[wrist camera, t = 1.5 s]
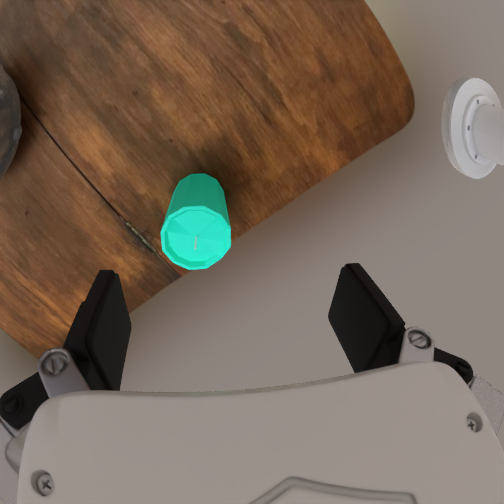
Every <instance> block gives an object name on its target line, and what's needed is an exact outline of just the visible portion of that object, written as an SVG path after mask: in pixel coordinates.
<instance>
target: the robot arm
mask: <svg viewBox="0 0 504 504" xmlns="http://www.w3.org/2000/svg"><path fill="white" fill-rule="evenodd" d="M462 136H463V142H464V146H465V149H466V152H467V154H468V155H469V157H470V158H471V159H472V160H473V161H474V162H475V163H478V164H480V165H486V164H488V163H490V162H491V161H494V162H496V163H498V164H500V165H503V166H504V109H502V108H499V107H496V105H495V103H494V102H493V101H492V100H491V99H490V98H489V97H487V96H484V95H476V96H473V97H472V98H471V99H470V100H469V102H468V103H467V106H466V108H465V111H464V114H463V121H462ZM328 318H329V321H330V324H331V325H332V328H333V330H334V332H335V333H336V336H337V338H338V340H339V342H340V344H341V346H342V348H343V350H344V352H345V354H346V356H347V358H348V360H349V362H350V364H351V366H352V368H353V370H354V372H355V373H354V374H349V375H345V376H339V377H335V378H329V379H324V380H317V381H311V382H305V383H298V384H292V385H283V386H275V387H266V388H257V389H245V390H234V391H233V390H232V391H214V392H131V391H120V385H121V379H122V373H123V367H124V362H125V357H126V351H127V347H128V342H129V337H130V333H131V321H130V317H129V314H128V310H127V306H126V303H125V299H124V295H123V291H122V287H121V282H120V278H119V275H118V274H117V273H115V272H114V271H113V270H100V271H99V272H98V274H97V277H96V279H95V281H94V283H93V285H92V287H91V289H90V291H89V293H88V295H87V298H86V300H85V301H84V302H82V304H81V305H80V307H79V310H78V312H77V314H76V316H75V319H74V321H73V323H72V326H71V328H70V331H69V333H68V336H67V338H66V341H65V343H64V346H63V348H60V347H55V348H51V349H48V350H47V351H45V352H44V353H43V354H42V355H41V356H40V358H39V360H38V365H37V367H38V372H37V373H35V374H34V375H32V376H31V377H29V378H27V379H26V380H24V381H22V382H21V383H19V384H18V385H16V386H14V387H13V388H11V389H9V390H8V391H6V392H5V393H4V394H3V395H2V396H1V398H0V498H1V499H2V501H3V502H4V503H5V504H504V452H503V449H502V447H501V445H500V442H499V440H498V438H497V433H498V431H499V428H500V425H501V422H502V419H503V416H504V395H503V394H502V393H501V392H500V391H499V390H497V389H496V388H494V387H493V386H492V385H490V384H489V383H488V382H486V381H485V380H484V379H482V378H481V377H479V376H478V375H475V377H474V376H473V370H472V368H471V366H470V364H469V363H468V362H467V361H465V360H463V359H462V358H459V357H457V356H454V355H452V354H449V353H447V352H445V351H442V350H440V349H437V348H435V347H434V339H433V337H432V336H431V334H430V333H429V332H427V331H426V330H424V329H422V328H419V327H410V328H408V329H407V330H406V329H405V327H404V325H405V322H404V321H403V319H402V318H401V317H400V315H399V314H398V313H397V311H396V310H395V309H394V307H393V306H392V304H391V303H390V302H389V301H388V299H387V298H386V297H385V295H384V294H383V293H382V291H381V290H380V289H379V288H378V286H377V285H376V284H375V283H374V281H373V280H372V279H371V277H370V276H369V275H368V274H367V272H366V271H365V270H364V269H363V267H362V266H361V265H360V264H359V263H352V264H351V263H350V264H346V265H345V267H342V269H341V271H340V275H339V279H338V282H337V286H336V290H335V293H334V297H333V300H332V304H331V307H330V310H329V314H328Z"/></svg>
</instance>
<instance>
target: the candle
mask: <svg viewBox="0 0 504 504" xmlns="http://www.w3.org/2000/svg"><path fill="white" fill-rule="evenodd" d="M161 242H162V251H163V252H164V253H165V254H166V255H167V256H168V257H169V258H170V260H171V261H172V262H173V263H175V264H177V265H180V266H182V267H184V268H186V269H188V270H194V269H207V268H208V267H209V266H211V265H213V264H214V263H215V262H217V261H218V260H220V259H221V258H222V257H223V256H224V255H225V253H226V252H227V251H228V249H229V248H230V247H231V228H230V222H229V217H228V212H227V206H226V201H225V196H224V190H223V189H222V187H221V186H220V184H219V182H218V181H217V179H215V178H213V177H211V176H209V175H207V174H205V173H202V174H190V175H189V176H187V177H185V178H184V179H182V180H181V181H179V183H178V185H177V187H176V189H175V191H174V193H173V196H172V199H171V202H170V205H169V208H168V211H167V214H166V217H165V220H164V223H163V226H162V230H161Z"/></svg>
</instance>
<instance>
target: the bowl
mask: <svg viewBox="0 0 504 504" xmlns="http://www.w3.org/2000/svg"><path fill="white" fill-rule="evenodd" d="M21 133H22V128H21V107H20V99H19V94H18V91H17V88H16V86H15V83H14V82H13V80H12V79H11V77H10V76H9V75H8V74H7V73H6V72H5V71H4V69H3V66H2V64H1V63H0V178H1V177H2V176H3V175H4V174H5V172H6V171H7V169H8V168H9V166H10V164H11V162H12V160H13V158H14V156H15V153H16V150H17V147H18V144H19V138H20V136H21Z"/></svg>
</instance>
